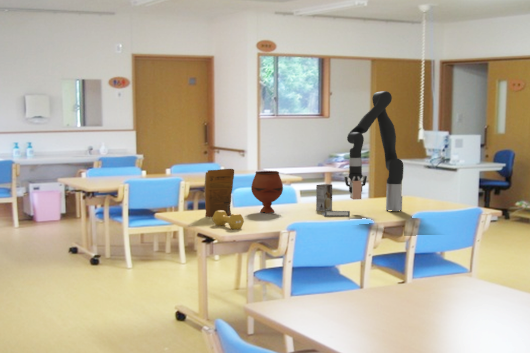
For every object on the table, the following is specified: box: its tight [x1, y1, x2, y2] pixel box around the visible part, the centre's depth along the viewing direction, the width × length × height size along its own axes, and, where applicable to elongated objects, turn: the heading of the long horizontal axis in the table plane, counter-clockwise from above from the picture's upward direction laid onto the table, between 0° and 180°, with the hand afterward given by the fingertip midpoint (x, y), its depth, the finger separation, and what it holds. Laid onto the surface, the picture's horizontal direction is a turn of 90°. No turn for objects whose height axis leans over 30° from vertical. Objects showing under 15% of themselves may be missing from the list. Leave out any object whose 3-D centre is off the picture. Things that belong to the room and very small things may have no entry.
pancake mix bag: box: [204, 168, 235, 218], centre depth 433 cm, size 7×19×28 cm, turn 115°
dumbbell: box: [211, 210, 245, 230], centre depth 397 cm, size 19×9×8 cm, turn 38°
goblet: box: [251, 170, 284, 214], centre depth 451 cm, size 19×19×25 cm
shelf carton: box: [349, 180, 362, 200], centre depth 450 cm, size 5×8×11 cm, turn 7°
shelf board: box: [321, 210, 351, 217], centre depth 444 cm, size 15×12×3 cm
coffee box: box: [315, 183, 333, 212], centre depth 464 cm, size 9×6×16 cm
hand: (355, 192), depth 450 cm, fingers closed on shelf carton, 5 cm apart
